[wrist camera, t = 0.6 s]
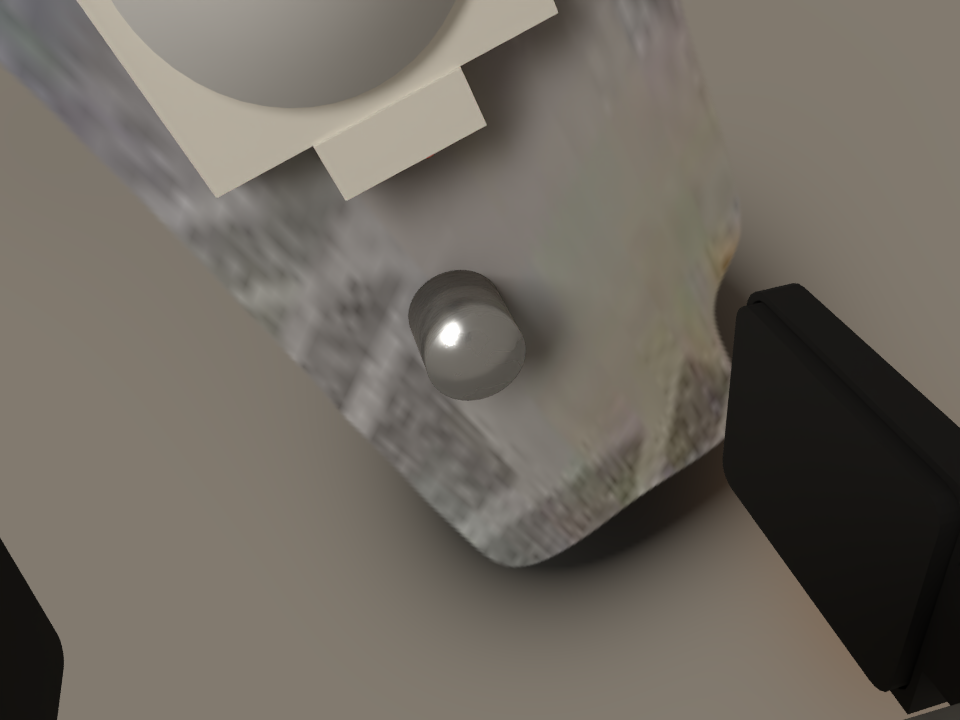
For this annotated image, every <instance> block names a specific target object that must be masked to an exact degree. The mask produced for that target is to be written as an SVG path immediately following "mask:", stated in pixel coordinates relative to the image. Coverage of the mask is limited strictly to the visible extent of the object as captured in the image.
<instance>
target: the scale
mask: <svg viewBox="0 0 960 720" xmlns="http://www.w3.org/2000/svg"><path fill="white" fill-rule="evenodd" d="M77 2H78V3H79V4H80V6H81V7H82V9H83V10H84V11H85V13H86V14H87V16H88V17H89V19H90V20H91V21H92V23H93V24H94V26H95V27H96V28H97V30H98V31H99V33H100V34H101V35H102V37H103V38H104V40H105V41H106V43H107V44H108V45H109V47H110V48H111V50H112V51H113V52H114V54H115V55H116V57H117V58H118V60H119V61H120V62H121V64H122V65H123V67H124V68H125V69H126V71H127V72H128V74H129V75H130V76H131V78H132V79H133V81H134V82H135V84H136V85H137V86H138V88H139V89H140V91H141V92H142V93H143V95H144V96H145V98H146V99H147V100H148V102H149V103H150V105H151V106H152V108H153V109H154V110H155V112H156V113H157V115H158V116H159V117H160V119H161V120H162V122H163V123H164V125H165V126H166V127H167V129H168V130H169V132H170V133H171V134H172V136H173V137H174V139H175V140H176V141H177V143H178V144H179V146H180V147H181V149H182V150H183V151H184V153H185V154H186V156H187V157H188V158H189V160H190V161H191V163H192V164H193V165H194V167H195V168H196V170H197V171H198V173H199V174H200V175H201V177H202V178H203V180H204V181H205V182H206V184H207V185H208V187H209V188H210V189H211V191H212V192H213V194H214V195H215V197H216V198H218V197H220V196H222V195H223V194H225V193H227V192H229V191H231V190H233V189H234V188H236V187H238V186H240V185H242V184H244V183H246V182H247V181H249V180H251V179H253V178H255V177H257V176H258V175H260V174H262V173H264V172H266V171H268V170H270V169H271V168H273V167H275V166H277V165H279V164H281V163H282V162H284V161H286V160H288V159H290V158H292V157H294V156H295V155H297V154H299V153H301V152H303V151H305V150H306V149H308V148H310V147H312V146H313V147H314V149H315V151H316V152H317V154H318V156H319V157H320V159H321V161H322V162H323V164H324V166H325V167H326V169H327V171H328V172H329V174H330V176H331V177H332V179H333V181H334V182H335V184H336V186H337V187H338V189H339V191H340V192H341V194H342V196H343V197H344V199H345V201H347V200H349V199H351V198H353V197H355V196H356V195H358V194H360V193H362V192H364V191H366V190H368V189H369V188H371V187H373V186H375V185H377V184H379V183H381V182H382V181H384V180H386V179H388V178H390V177H392V176H394V175H395V174H397V173H399V172H401V171H403V170H405V169H407V168H408V167H410V166H412V165H414V164H416V163H418V162H420V161H421V160H423V159H425V158H427V159H428V158H430V157H432V156H433V155H434V153H436V152H438V151H440V150H442V149H444V148H446V147H447V146H449V145H451V144H453V143H455V142H457V141H459V140H460V139H462V138H464V137H466V136H468V135H470V134H472V133H473V132H475V131H477V130H479V129H481V128H483V127H485V126H486V125H487V124H486V122H485V120H484V118H483V116H482V113H481V111H480V109H479V107H478V104H477V102H476V100H475V98H474V96H473V93H472V91H471V89H470V87H469V85H468V82H467V80H466V78H465V76H464V74H463V71H462V69H461V67H460V66H461V65H463V64H465V63H467V62H469V61H471V60H473V59H474V58H476V57H478V56H480V55H482V54H484V53H485V52H487V51H489V50H491V49H493V48H495V47H496V46H498V45H500V44H502V43H504V42H506V41H508V40H509V39H511V38H513V37H515V36H517V35H519V34H520V33H522V32H524V31H526V30H528V29H530V28H532V27H533V26H535V25H537V24H539V23H541V22H543V21H544V20H546V19H548V18H550V17H552V16H554V15H556V14H557V13H558V11H557V8H556V5H555V2H554V0H77Z"/></svg>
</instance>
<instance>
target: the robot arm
mask: <svg viewBox="0 0 960 720" xmlns="http://www.w3.org/2000/svg"><path fill="white" fill-rule="evenodd" d="M723 468H724V473H725V476H726V479H727V481H728V483H729V485H730V487H731V488H732V490H733V491H734V492H735V494H736V495H737V497H738V498H739V499H740V501H741V502H742V504H743V505H744V506H745V508H746V509H747V511H748V512H749V513H750V515H751V516H752V518H753V519H754V520H755V522H756V523H757V524H758V526H759V527H760V529H761V530H762V531H763V533H764V534H765V536H766V537H767V538H768V540H769V541H770V543H771V544H772V545H773V547H774V548H775V550H776V551H777V552H778V554H779V555H780V557H781V558H782V559H783V560H784V562H785V563H786V565H787V566H788V568H789V569H790V570H791V572H792V573H793V575H794V576H795V577H796V579H797V580H798V582H799V583H800V584H801V586H802V587H803V588H804V590H805V591H806V593H807V594H808V595H809V597H810V598H811V600H812V601H813V602H814V604H815V605H816V607H817V608H818V609H819V611H820V612H821V613H822V615H823V616H824V618H825V619H826V620H827V622H828V623H829V625H830V626H831V627H832V629H833V630H834V631H835V633H836V634H837V636H838V637H839V638H840V640H841V641H842V643H843V644H844V645H845V647H846V648H847V650H848V651H849V652H850V654H851V655H852V657H853V658H854V659H855V661H856V662H857V663H858V665H859V666H860V668H861V669H862V670H863V672H864V673H865V674H866V676H867V677H868V679H869V680H870V681H871V682H872V684H873V685H874V686H875V687H876V688H878V689H879V690H881V691H884V692H886V691H889V690H890V691H891V692H892V694H893V695H894V696H895V698H896V699H897V701H898V702H899V703H900V705H901V706H902V707H903V709H904V710H905V711H906V713H907V714H911V713H914V712H917V711H920V710H923V709H926V708H929V707H932V706H935V705H938V704H941V703H945V702H948V703H949V704H950V706H948V707H945V708H942V709H938V710H935V711H932V712H928V713H925V714H922V715H918V716H915V717H911V718H908V719H905V720H960V428H959V427H958V426H957V425H956V424H955V423H954V422H953V421H952V420H951V419H949V418H948V417H947V416H946V415H945V414H944V413H943V412H942V411H940V410H939V409H938V408H937V407H936V406H935V405H934V404H933V403H932V402H930V401H929V400H928V399H927V398H926V397H925V396H924V395H923V394H922V393H921V392H920V391H918V390H917V389H916V388H915V387H914V386H913V385H912V384H911V383H910V382H908V381H907V380H906V379H905V378H904V377H903V376H902V375H901V374H900V373H898V372H897V371H896V370H895V369H894V368H893V367H892V366H891V365H890V364H888V363H887V362H886V361H885V360H884V359H883V358H882V357H881V356H880V355H879V354H877V353H876V352H875V351H874V350H873V349H872V348H871V347H870V346H868V345H867V344H866V343H865V342H864V341H863V340H862V339H861V338H860V337H859V336H857V335H856V334H855V333H854V332H853V331H852V330H851V329H850V328H849V327H847V326H846V325H845V324H844V323H843V322H842V321H841V320H840V319H839V318H837V317H836V316H835V315H834V314H833V313H832V312H831V311H830V310H829V309H828V308H826V307H825V306H824V305H823V304H822V303H821V302H820V301H819V300H818V299H816V298H815V297H814V296H813V295H812V294H811V293H810V292H809V291H808V290H806V289H805V288H804V287H803V286H801V285H800V284H795V283H792V284H788V285H784V286H779V287H775V288H771V289H767V290H762V291H758V292H755V293H753V294H751V295H750V297H749V299H748V302H747V306H743V307H741V308H740V309H739V310H738V312H737V317H736V326H735V337H734V347H733V357H732V368H731V378H730V388H729V399H728V409H727V420H726V430H725V441H724V452H723ZM63 667H64V657H63V650H62V645H61V642H60V639H59V637H58V635H57V633H56V631H55V629H54V628H53V626H52V624H51V623H50V621H49V619H48V618H47V616H46V614H45V613H44V611H43V609H42V608H41V606H40V604H39V603H38V601H37V599H36V598H35V596H34V594H33V592H32V591H31V589H30V587H29V586H28V584H27V582H26V581H25V579H24V577H23V575H22V574H21V572H20V571H19V569H18V567H17V565H16V564H15V562H14V560H13V559H12V557H11V555H10V554H9V552H8V550H7V549H6V547H5V545H4V543H3V542H2V540H1V539H0V720H57V716H58V707H59V699H60V692H61V684H62V677H63V669H64V668H63Z"/></svg>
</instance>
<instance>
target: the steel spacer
mask: <svg viewBox="0 0 960 720" xmlns="http://www.w3.org/2000/svg"><path fill="white" fill-rule="evenodd" d="M408 319H409V325H410V328H411V331H412V334H413V336H414V339H415V342H416V344H417V347H418V350H419V352H420V355H421V357H422V360H423V363H424V365H425V368H426V371H427V373H428V376H429V379H430V381H431V382H432V384H433V385H434V387H435V388H436V389H437V390H438V391H440V392H441V393H442V394H444V395H446V396H448V397H450V398H453V399H458V400H467V401H469V400H478V399H483V398H486V397H489V396H492V395H494V394H496V393H498V392H499V391H501V390H503V389H504V388H505V387H507V386H508V385H509V384H510V383H511V382H512V381H513V380H514V379H515V377H516V376H517V375H518V373H519V372H520V370H521V368H522V366H523V363H524V360H525V355H526V346H525V341H524V338H523V336H522V334H521V332H520V330H519V328H518V326H517V325H516V323H515V321H514V319H513V318H512V316H511V314H510V312H509V310H508V309H507V307H506V305H505V303H504V302H503V300H502V298H501V296H500V294H499V293H498V291H497V289H496V288H495V286H494V285H493V283H492V282H491V281H490V280H489V279H487V278H486V277H484V276H483V275H481V274H479V273H476V272H473V271H467V270H454V271H449V272H445V273H442V274H439V275H437V276H435V277H433V278H432V279H430V280H429V281H427V282H426V283H425V284H424V285H423V286H422V287H421V288H420V289H419V290H418V291H417V293H416V294H415V296H414V298H413V299H412V302H411V304H410V308H409V314H408Z"/></svg>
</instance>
